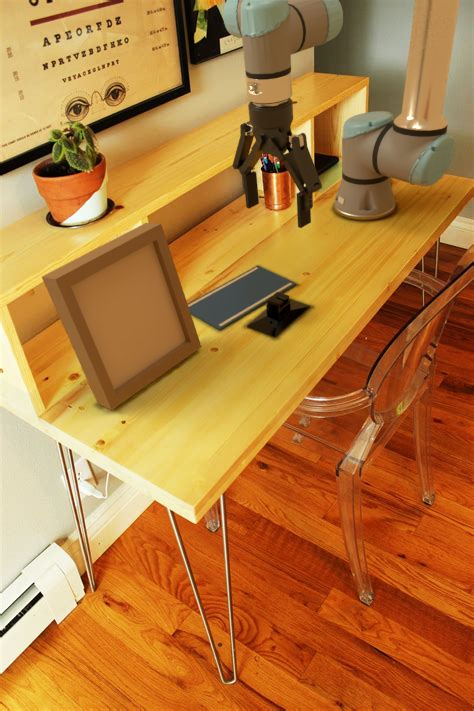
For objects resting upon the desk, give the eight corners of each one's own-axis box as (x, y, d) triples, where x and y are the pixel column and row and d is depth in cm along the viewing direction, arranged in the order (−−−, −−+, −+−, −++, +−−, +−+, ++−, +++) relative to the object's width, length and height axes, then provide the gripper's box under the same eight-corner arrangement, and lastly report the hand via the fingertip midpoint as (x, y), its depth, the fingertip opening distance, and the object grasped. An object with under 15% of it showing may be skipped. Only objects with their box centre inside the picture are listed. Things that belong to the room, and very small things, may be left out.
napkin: (257, 266, 142) (257, 265, 142) (296, 284, 135) (296, 283, 134) (182, 308, 131) (181, 306, 131) (219, 330, 124) (219, 328, 124)
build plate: (275, 338, 120) (274, 319, 118) (245, 327, 124) (243, 307, 121) (310, 306, 128) (310, 287, 125) (281, 297, 132) (280, 278, 129)
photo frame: (202, 350, 119) (183, 231, 104) (113, 414, 107) (77, 290, 92) (151, 324, 128) (126, 210, 112) (63, 380, 116) (22, 262, 100)
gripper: (205, 95, 112) (219, 205, 125) (310, 119, 96) (314, 242, 110) (235, 83, 115) (246, 191, 129) (342, 105, 100) (341, 225, 113)
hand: (277, 215), depth 119 cm, fingers open, 13 cm apart
